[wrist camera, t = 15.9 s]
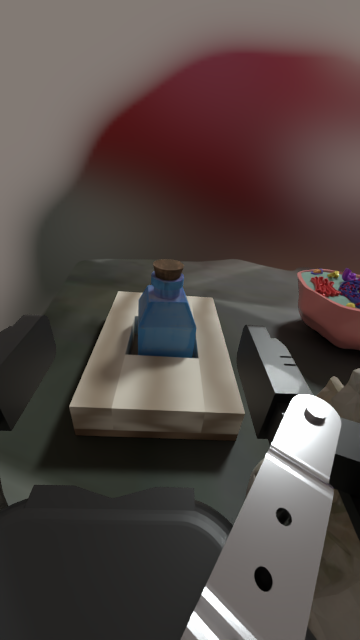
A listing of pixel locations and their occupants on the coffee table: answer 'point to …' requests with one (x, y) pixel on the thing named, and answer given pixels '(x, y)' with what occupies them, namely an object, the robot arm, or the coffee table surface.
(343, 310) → the cell model
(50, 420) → the coffee table surface
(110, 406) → the socket plinth
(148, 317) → the perfume bottle
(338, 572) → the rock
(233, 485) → the coffee table surface
